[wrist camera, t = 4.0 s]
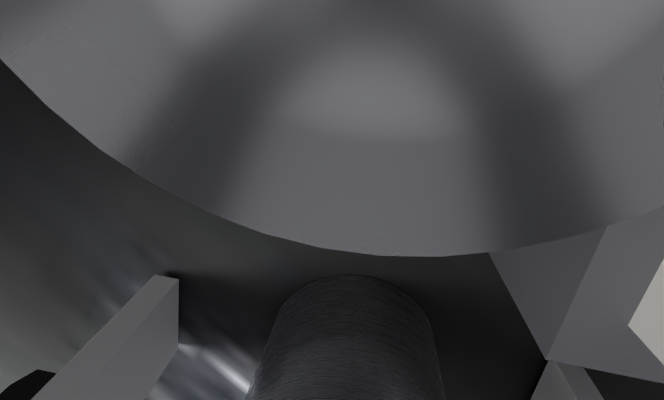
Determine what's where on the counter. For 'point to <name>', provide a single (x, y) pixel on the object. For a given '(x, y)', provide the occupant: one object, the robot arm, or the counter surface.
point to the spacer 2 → (349, 345)
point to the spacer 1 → (366, 111)
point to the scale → (595, 296)
